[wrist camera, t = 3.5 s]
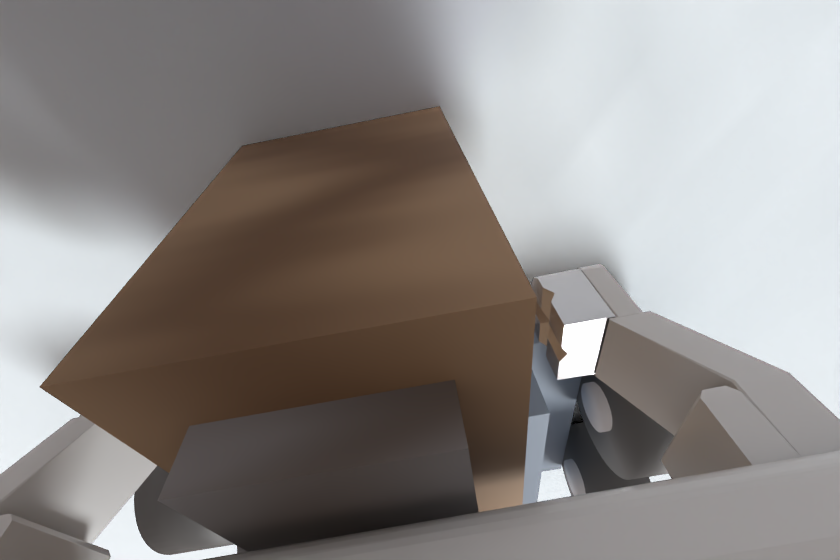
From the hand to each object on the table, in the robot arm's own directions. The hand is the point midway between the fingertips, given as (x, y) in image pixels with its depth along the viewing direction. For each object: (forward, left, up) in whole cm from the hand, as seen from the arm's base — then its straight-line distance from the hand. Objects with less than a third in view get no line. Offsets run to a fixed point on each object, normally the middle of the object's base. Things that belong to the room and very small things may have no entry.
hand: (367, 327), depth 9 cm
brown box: (0, 0, -3) cm, 3 cm away
